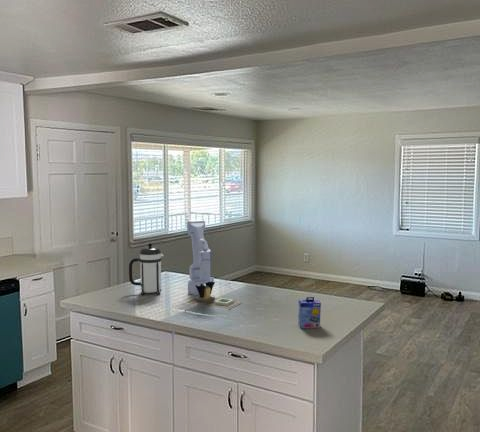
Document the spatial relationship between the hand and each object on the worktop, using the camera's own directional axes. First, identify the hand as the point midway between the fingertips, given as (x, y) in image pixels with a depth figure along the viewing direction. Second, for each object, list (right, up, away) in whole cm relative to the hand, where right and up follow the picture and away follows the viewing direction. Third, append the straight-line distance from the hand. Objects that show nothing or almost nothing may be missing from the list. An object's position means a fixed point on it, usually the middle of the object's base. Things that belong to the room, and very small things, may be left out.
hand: (205, 296), depth 266 cm
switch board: (+5, -4, -3) cm, 7 cm away
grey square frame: (0, -3, 0) cm, 3 cm away
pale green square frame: (+10, -4, -5) cm, 12 cm away
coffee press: (-35, -2, +20) cm, 40 cm away
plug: (0, -2, 0) cm, 2 cm away
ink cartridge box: (+52, -8, -40) cm, 66 cm away
